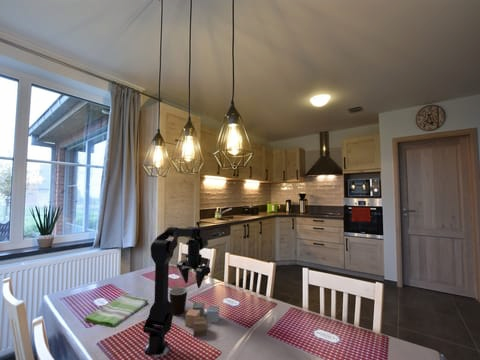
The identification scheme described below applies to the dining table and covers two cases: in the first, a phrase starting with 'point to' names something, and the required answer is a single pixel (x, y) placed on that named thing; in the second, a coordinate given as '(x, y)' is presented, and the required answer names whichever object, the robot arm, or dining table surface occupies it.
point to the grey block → (199, 307)
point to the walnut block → (199, 326)
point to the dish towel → (117, 310)
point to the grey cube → (213, 314)
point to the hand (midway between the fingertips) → (192, 285)
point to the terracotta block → (191, 317)
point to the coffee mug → (178, 300)
